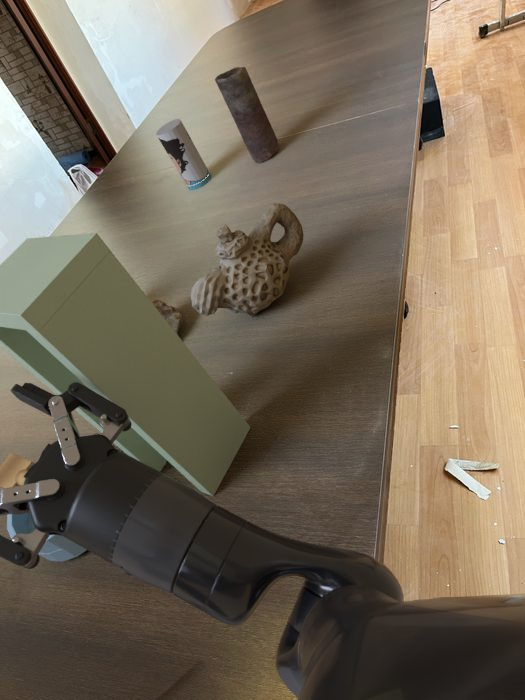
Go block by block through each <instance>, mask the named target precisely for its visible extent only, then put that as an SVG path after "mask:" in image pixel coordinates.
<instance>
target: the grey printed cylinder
mask: <svg viewBox="0 0 525 700" xmlns="http://www.w3.org/2000/svg"><path fill="white" fill-rule="evenodd" d="M155 135H156V137H157V139H158V140H159V142H160V143H161V145H162V147H163V148H164V151H165V152H166V154H167V155H168V157H169V159H170V160H171V162H172V164H173V165H174V167H175V169H176V170H177V172H178V173H179V175H180V177H181V179H182V180H183V183H184V184H185V185H186V184H187V185H193V184H196V183H198V182H201V181H202V180H203V179H205V177H207V175H208V174H209V176H208V177H207V178H206V179H205V180H204V181H202V182H201V183H199V184H197V185H195V186H191V187H188V186H187V185H186V188H187V189H188V190H189V191H193V190H199V189H200V188H202V187H204V186H205V185H206V184H207V183H208V182H210V181H211V179H212V174H211V172H210V171H209V169H208V167H207V165H206V163H205V161H204V160H203V158H202V156H201V155H200V153H199V151H198V148H197V147H196V145H195V144H194V141H193V140H192V138H191V136H190V134H189V132H188V131H187V128H186V127H185V125H184V123H183V122H182V120H181V118H175V119H173V120H170V121H168V122H167V123H165V124H163V125H162V126H161V127H160V128H158V130H156V133H155Z"/></svg>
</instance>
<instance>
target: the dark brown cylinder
mask: <svg viewBox="0 0 525 700" xmlns="http://www.w3.org/2000/svg"><path fill="white" fill-rule="evenodd" d="M214 81H215V84H216V85H217V87H218V90H219V91H220V94H221V96H222V98H223V100H224V103H225V105H226V106H227V108H228V110H229V112H230V114H231V117H232V118H233V121H234V123H235V125H236V127H237V130H238V132H239V134H240V136H241V138H242V140H243V143H244V145H245V146H246V149H247V151H248V153H249V155H250V157H251V159H252V160H253V162H254V163H256V164H260V163H263V162H265V161H267V160H269V159H270V158H271V157H272V156H273V155H274V154H275V153H277V152H278V150H279V149H280V143H279V140H278V138H277V136H276V133H275V131H274V129H273V126H272V124H271V121H270V120H269V117H268V115H267V112H266V111H265V109H264V107H263V104H262V102H261V99H260V97H259V95H258V93H257V90H256V88H255V86H254V84H253V82H252V79H251V77H250V74H249V72H248V70H247V68H246V66H235V67H232V68H230V69H229V70H227V71H225V72H222V73H220V74H219V75H217V76H216V77H215V78H214Z"/></svg>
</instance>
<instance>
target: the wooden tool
mask: <svg viewBox="0 0 525 700" xmlns="http://www.w3.org/2000/svg"><path fill="white" fill-rule="evenodd" d="M35 463H36V462H34V461H32V460H29V459H27V458H25V457H22V456H20V455H18V454H16V453H13V452H10V453H9V455H8V456H7V457H6V459H5V460H4V461H3V462H2V464H1V465H0V488H1V489H4V488H9V487H15V486H21V485H24V481H25V478H24V475H25V474H26V473H27V471H28V470H29V469H30V468H31V467H32V466H33V465H34V464H35Z"/></svg>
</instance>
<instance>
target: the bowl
mask: <svg viewBox="0 0 525 700" xmlns="http://www.w3.org/2000/svg"><path fill="white" fill-rule="evenodd" d="M6 517H7V518H6V529H7V532H8V534H9V536H10V540H12V538H13V537H14V536H15V535H16V534H18V533H24V534H29V533H31V532H33V531H34V530H35V529H36V528H35V526H34V524H33V521H32V518H31V514H30V512H29V513H24V514H8V515H6ZM85 552H87V550H86V549H85V548H83V547H81V546H79V545H78V544H76V543H74V542H72V541H71V540H69V539H67V538H65V537H64V536H61V535H50V536H49V537H48V539H47V540H46V542H45V544H44V545H43V547H42V549H41V550H40V552H39V553H38V555H39V557H42V558H43V559H46V560H48V561H50V562H66V561H69V560H72V559H75V558H77V557H79V556H80V555H82V554H83V553H85Z"/></svg>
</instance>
